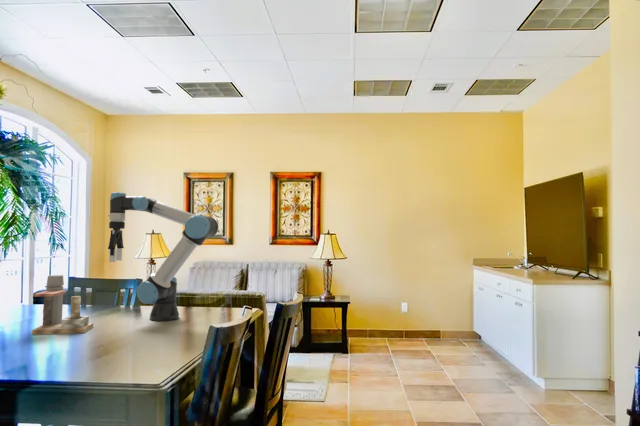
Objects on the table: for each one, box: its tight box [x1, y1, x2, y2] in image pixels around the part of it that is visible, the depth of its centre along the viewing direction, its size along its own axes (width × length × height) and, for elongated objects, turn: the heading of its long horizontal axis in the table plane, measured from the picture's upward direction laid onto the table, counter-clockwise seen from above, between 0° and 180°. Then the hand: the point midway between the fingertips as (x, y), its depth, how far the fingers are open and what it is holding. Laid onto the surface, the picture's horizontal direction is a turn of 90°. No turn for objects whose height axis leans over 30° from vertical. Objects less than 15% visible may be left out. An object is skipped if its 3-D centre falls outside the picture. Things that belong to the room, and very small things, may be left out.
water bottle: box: [42, 274, 65, 324], centre depth 213 cm, size 9×8×25 cm
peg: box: [69, 295, 82, 319], centre depth 204 cm, size 4×4×14 cm
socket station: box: [31, 289, 94, 336], centre depth 204 cm, size 22×13×18 cm, turn 102°
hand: (115, 261), depth 228 cm, fingers open, 13 cm apart
